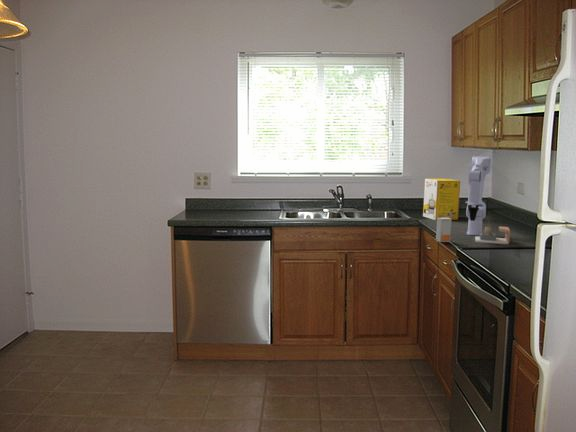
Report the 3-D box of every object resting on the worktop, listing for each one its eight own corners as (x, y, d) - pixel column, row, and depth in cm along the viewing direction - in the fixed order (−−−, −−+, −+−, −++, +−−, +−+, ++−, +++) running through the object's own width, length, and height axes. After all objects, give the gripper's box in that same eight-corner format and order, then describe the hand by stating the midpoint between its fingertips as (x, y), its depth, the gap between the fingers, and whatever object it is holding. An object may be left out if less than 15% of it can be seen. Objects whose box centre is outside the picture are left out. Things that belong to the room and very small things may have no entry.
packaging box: (422, 216, 400) (424, 178, 396) (444, 216, 404) (447, 178, 400) (435, 220, 384) (437, 180, 381) (457, 219, 388) (460, 180, 385)
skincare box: (439, 242, 304) (441, 218, 302) (435, 240, 308) (436, 217, 307) (450, 242, 306) (451, 218, 304) (446, 240, 310) (447, 217, 308)
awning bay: (475, 238, 319) (475, 225, 318) (507, 240, 315) (508, 227, 314) (475, 242, 308) (476, 228, 307) (509, 244, 303) (510, 230, 302)
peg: (484, 238, 314) (484, 226, 313) (490, 238, 313) (491, 227, 312) (484, 239, 310) (485, 227, 310) (490, 239, 310) (491, 228, 309)
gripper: (466, 192, 323) (464, 217, 325) (466, 194, 309) (464, 221, 311) (479, 192, 321) (478, 218, 323) (480, 195, 308) (478, 221, 309)
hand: (472, 219), depth 317 cm, fingers open, 7 cm apart
